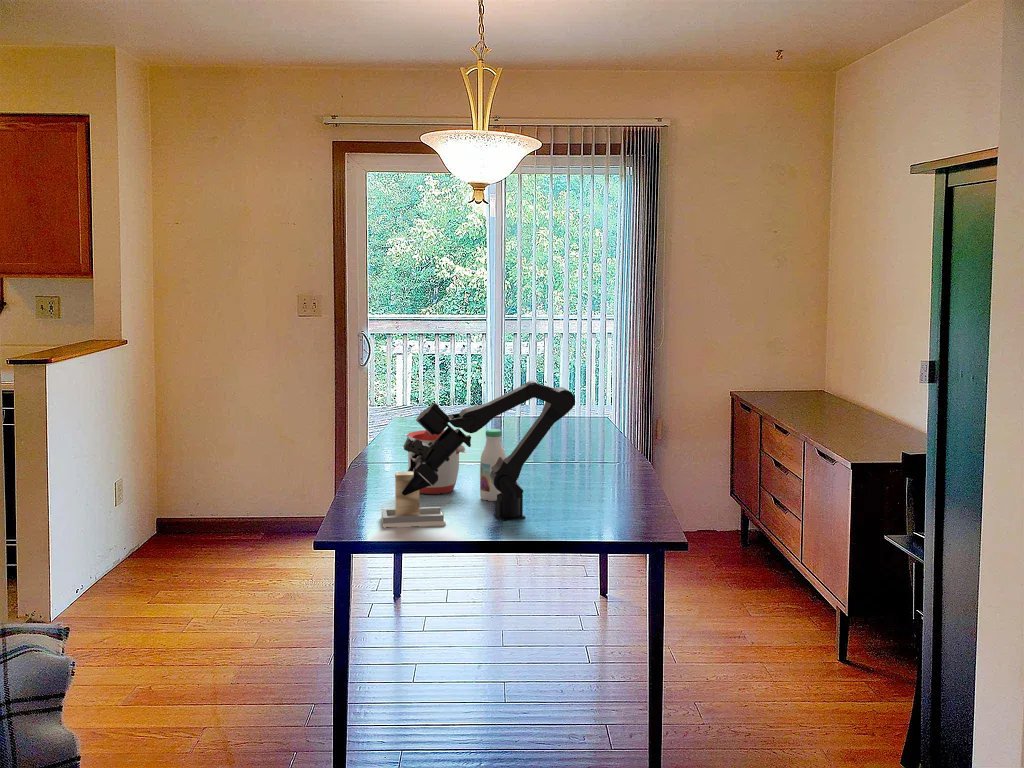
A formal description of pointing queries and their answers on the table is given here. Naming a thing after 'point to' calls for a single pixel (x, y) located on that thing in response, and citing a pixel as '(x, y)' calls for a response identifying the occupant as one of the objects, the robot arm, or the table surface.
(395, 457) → the table surface
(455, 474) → the citrus juicer
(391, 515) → the track board
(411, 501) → the upright wooden block
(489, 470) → the milk bottle
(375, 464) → the table surface
